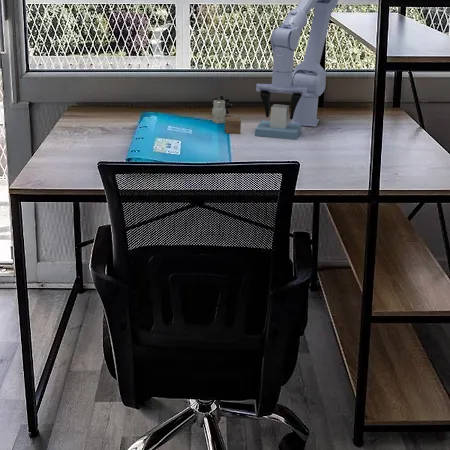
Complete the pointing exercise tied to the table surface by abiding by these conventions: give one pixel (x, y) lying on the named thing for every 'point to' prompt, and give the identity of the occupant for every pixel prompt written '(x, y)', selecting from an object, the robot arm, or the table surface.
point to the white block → (279, 116)
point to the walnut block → (232, 125)
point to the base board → (278, 130)
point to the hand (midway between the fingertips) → (279, 117)
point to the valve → (220, 109)
